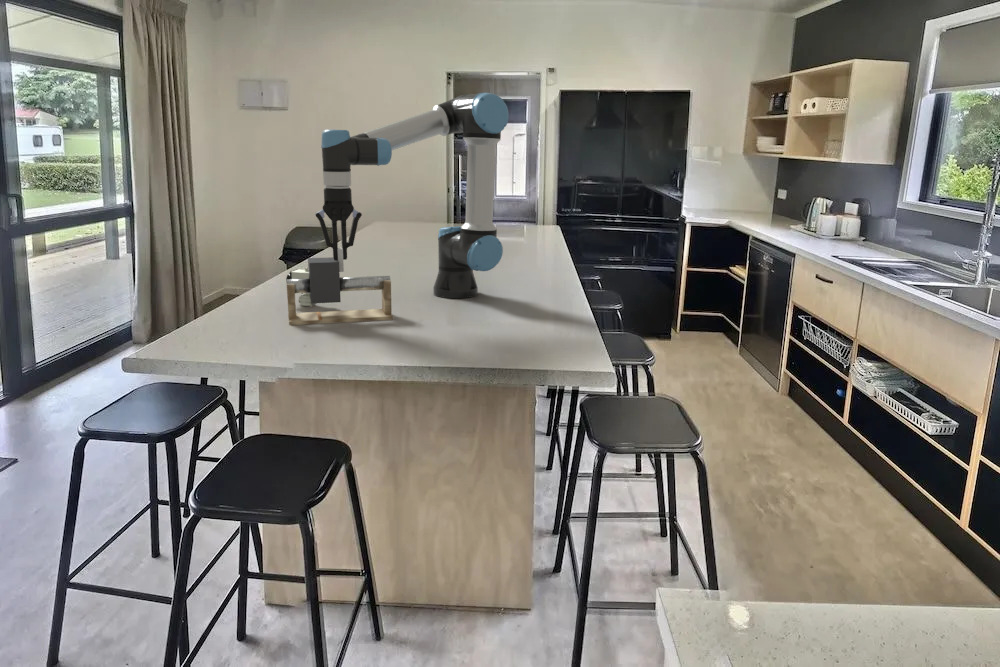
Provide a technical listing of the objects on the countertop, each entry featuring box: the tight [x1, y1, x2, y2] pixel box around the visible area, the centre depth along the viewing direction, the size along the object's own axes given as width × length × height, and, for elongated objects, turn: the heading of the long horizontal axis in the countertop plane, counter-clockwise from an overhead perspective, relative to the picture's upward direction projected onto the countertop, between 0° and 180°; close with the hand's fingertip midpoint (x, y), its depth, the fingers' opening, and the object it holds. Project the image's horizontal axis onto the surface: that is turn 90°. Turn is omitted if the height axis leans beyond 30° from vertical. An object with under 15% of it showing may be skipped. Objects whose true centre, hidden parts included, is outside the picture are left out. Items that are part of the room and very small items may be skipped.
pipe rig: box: [286, 279, 394, 326], centre depth 207 cm, size 29×10×11 cm, turn 107°
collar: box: [307, 256, 342, 304], centre depth 204 cm, size 8×9×12 cm
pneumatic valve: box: [285, 267, 318, 308], centre depth 222 cm, size 6×12×12 cm, turn 78°
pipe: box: [285, 275, 391, 294], centre depth 205 cm, size 29×4×4 cm, turn 107°
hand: (340, 270), depth 205 cm, fingers closed
